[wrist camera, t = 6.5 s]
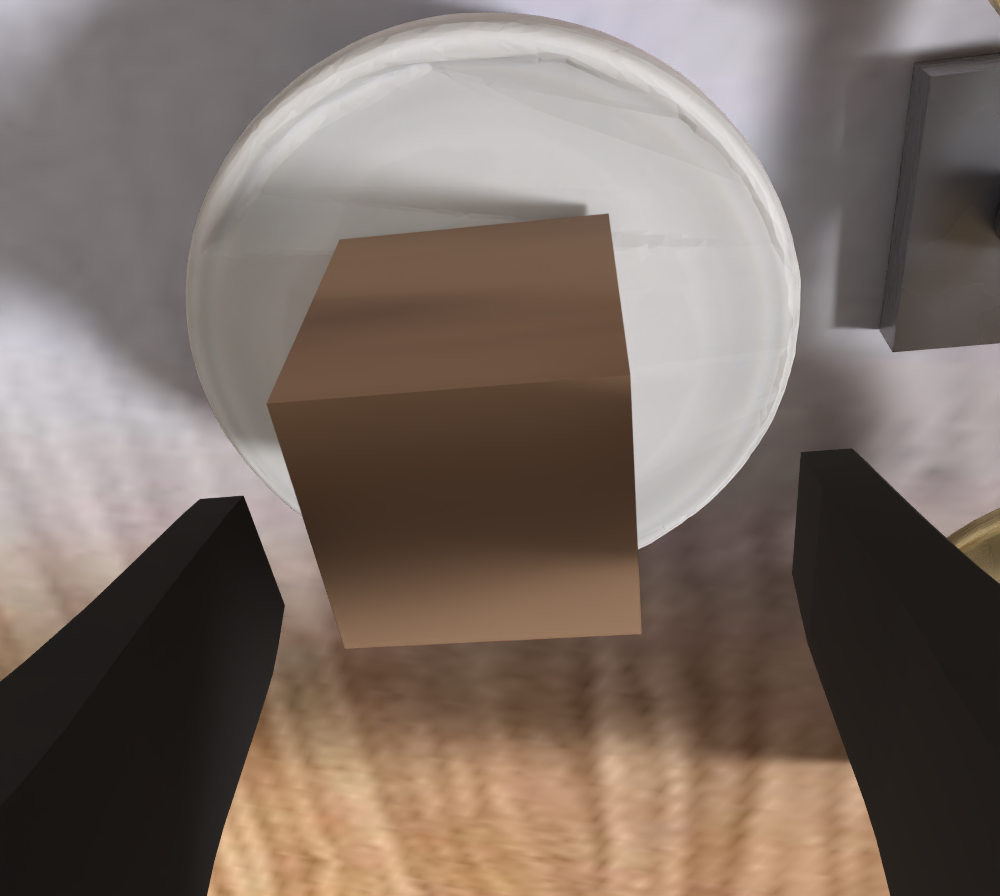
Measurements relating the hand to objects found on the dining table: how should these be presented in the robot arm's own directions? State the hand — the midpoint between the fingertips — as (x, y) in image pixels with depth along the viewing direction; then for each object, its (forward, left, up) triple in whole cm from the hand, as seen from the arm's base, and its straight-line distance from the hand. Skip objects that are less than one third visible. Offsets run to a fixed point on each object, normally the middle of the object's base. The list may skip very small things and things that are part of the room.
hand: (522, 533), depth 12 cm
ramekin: (0, +1, -11) cm, 11 cm away
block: (0, +1, -5) cm, 5 cm away
